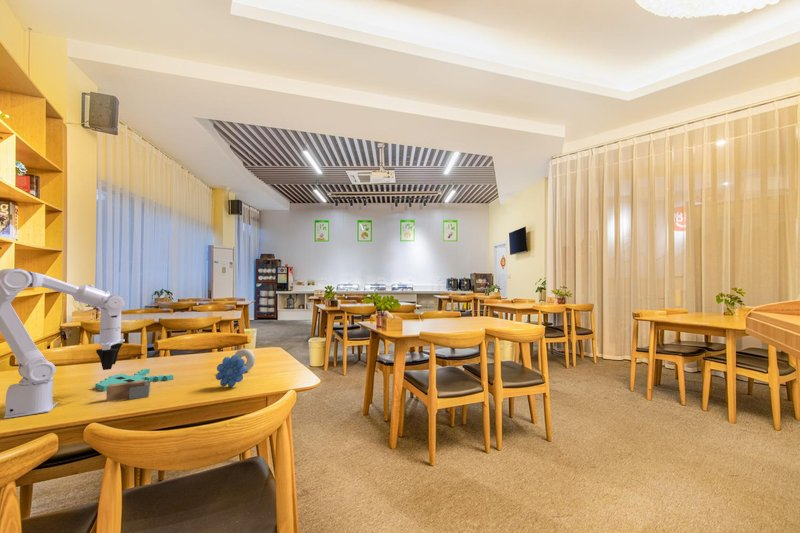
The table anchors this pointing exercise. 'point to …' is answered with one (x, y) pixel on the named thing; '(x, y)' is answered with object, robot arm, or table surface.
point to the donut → (248, 355)
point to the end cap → (139, 391)
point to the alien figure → (130, 379)
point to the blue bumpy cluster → (231, 371)
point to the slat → (121, 390)
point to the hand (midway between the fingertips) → (109, 366)
